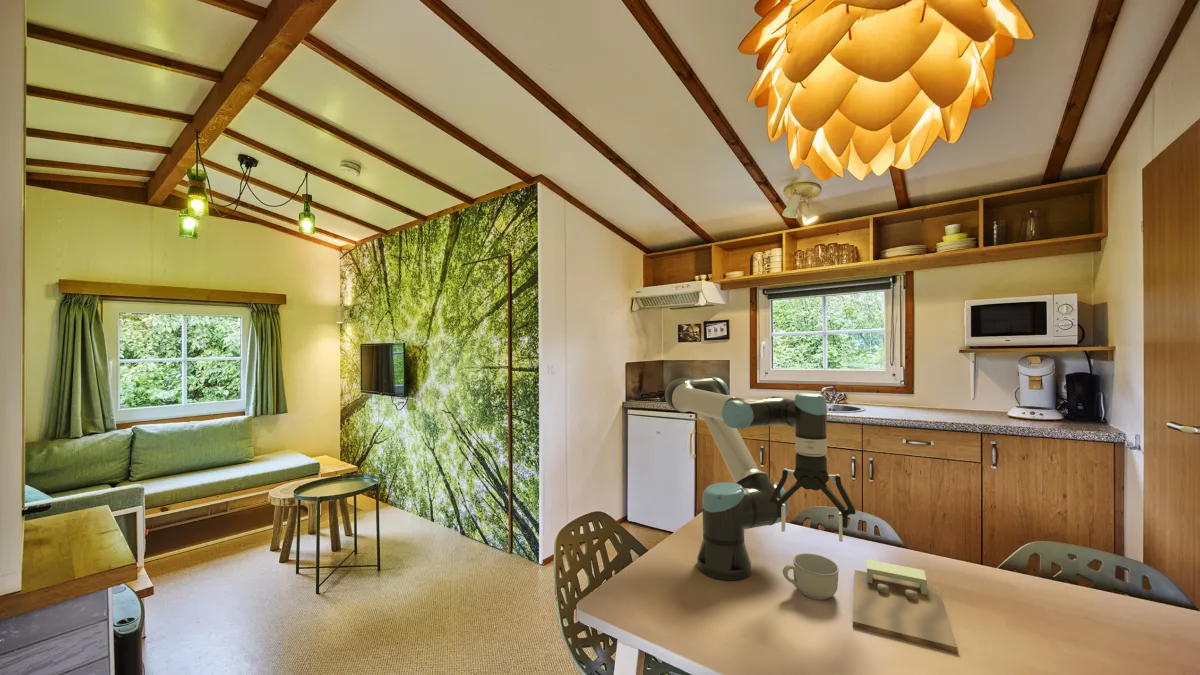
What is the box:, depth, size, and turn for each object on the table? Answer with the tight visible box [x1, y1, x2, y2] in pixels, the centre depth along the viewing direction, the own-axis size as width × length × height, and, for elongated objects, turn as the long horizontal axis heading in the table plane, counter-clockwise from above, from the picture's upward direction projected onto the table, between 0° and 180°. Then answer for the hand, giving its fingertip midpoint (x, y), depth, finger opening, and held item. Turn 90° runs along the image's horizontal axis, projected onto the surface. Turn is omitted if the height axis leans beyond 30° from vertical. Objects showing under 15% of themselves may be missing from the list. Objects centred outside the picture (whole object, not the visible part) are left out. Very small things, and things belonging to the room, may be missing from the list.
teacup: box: [782, 552, 840, 600], centre depth 119 cm, size 14×11×8 cm
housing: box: [866, 559, 928, 595], centre depth 121 cm, size 13×6×4 cm, turn 60°
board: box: [852, 569, 958, 654], centre depth 112 cm, size 19×28×3 cm
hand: (811, 534), depth 120 cm, fingers open, 13 cm apart
